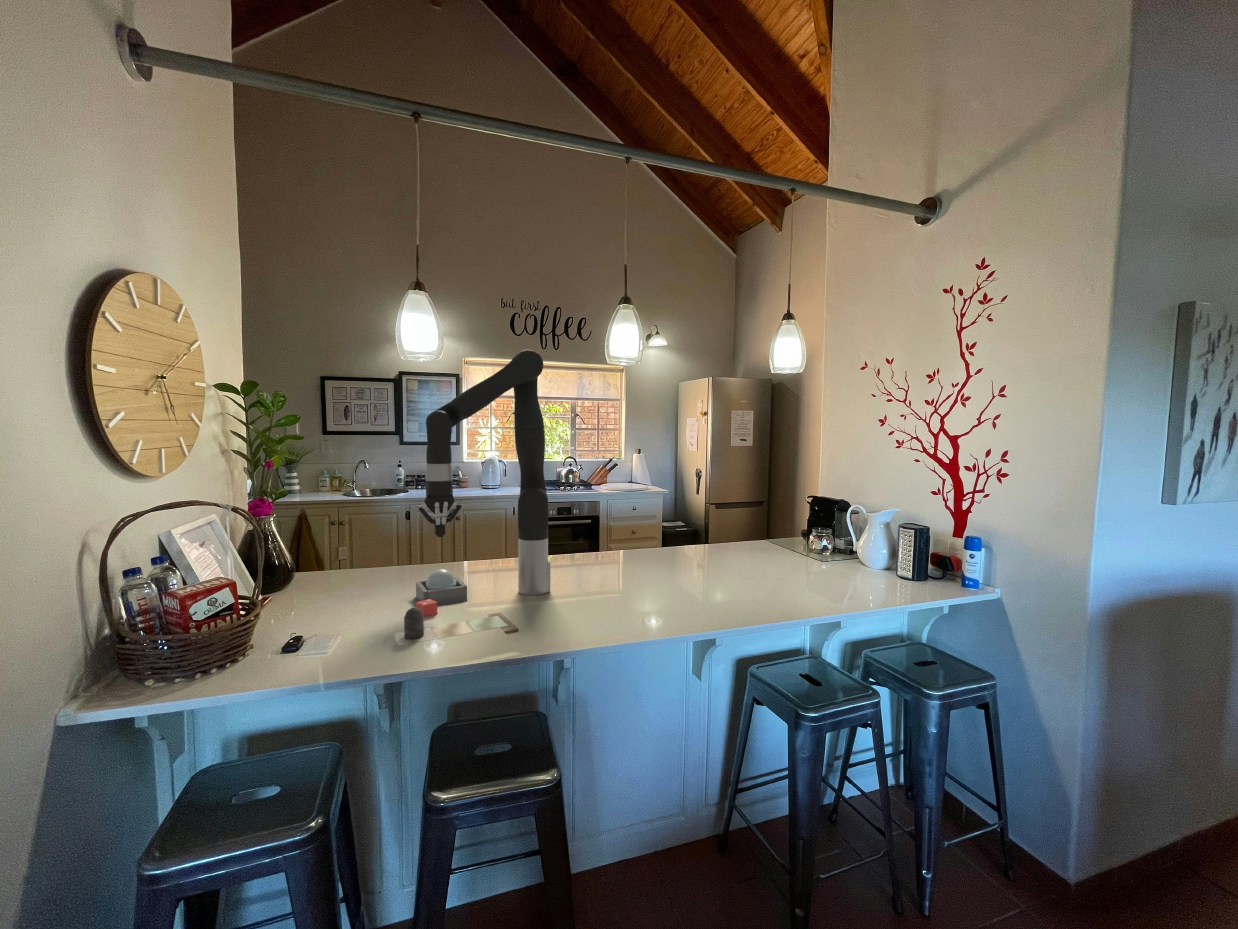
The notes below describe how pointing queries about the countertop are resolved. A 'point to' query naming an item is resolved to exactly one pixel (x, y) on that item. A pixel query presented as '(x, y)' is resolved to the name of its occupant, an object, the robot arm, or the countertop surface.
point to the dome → (440, 580)
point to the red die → (427, 607)
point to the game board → (462, 628)
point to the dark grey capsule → (413, 624)
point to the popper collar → (442, 593)
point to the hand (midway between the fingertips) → (440, 536)
